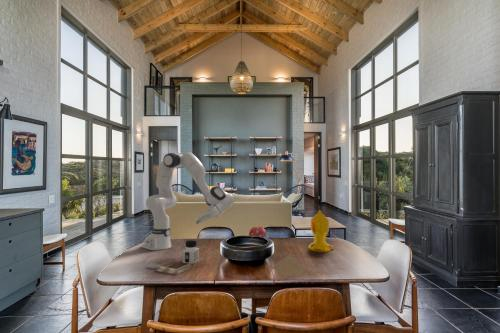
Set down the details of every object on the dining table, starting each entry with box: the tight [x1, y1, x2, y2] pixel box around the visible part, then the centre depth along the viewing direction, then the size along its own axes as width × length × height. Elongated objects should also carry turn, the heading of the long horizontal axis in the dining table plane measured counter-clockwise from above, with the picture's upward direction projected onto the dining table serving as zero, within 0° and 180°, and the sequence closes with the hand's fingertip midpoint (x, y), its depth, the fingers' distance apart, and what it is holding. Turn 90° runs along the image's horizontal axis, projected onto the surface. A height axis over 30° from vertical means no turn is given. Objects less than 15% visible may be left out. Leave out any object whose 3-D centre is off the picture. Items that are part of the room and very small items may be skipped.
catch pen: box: [156, 259, 192, 275], centre depth 164 cm, size 14×13×2 cm
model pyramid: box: [271, 253, 311, 278], centre depth 163 cm, size 17×17×10 cm
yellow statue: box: [308, 209, 334, 253], centre depth 210 cm, size 18×24×28 cm
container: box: [182, 239, 200, 265], centre depth 178 cm, size 8×8×13 cm
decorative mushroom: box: [248, 225, 267, 238], centre depth 217 cm, size 13×13×15 cm
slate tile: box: [145, 263, 161, 270], centre depth 167 cm, size 6×6×2 cm
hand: (198, 222), depth 184 cm, fingers open, 8 cm apart
